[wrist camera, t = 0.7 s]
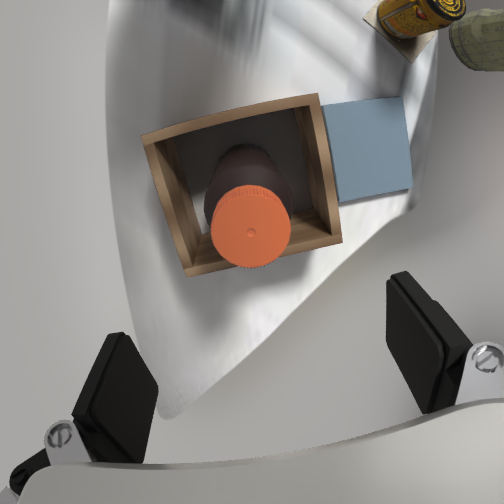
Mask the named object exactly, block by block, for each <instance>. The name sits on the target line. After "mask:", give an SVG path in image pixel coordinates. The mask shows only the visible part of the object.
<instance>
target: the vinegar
mask: <svg viewBox="0 0 504 504" xmlns="http://www.w3.org/2000/svg"><path fill="white" fill-rule="evenodd" d="M292 211H293V200H292V194H291V190H290V189H289V187H288V185H287V183H286V181H285V180H284V178H283V176H282V175H281V173H280V172H279V170H278V169H277V167H276V166H275V164H274V163H273V161H272V160H271V158H270V156H269V155H268V154H267V153H266V152H265V151H264V150H263V149H261V148H259V147H257V146H255V145H250V144H241V145H236V146H234V147H232V148H230V149H229V150H227V151H226V152H225V153H224V154H223V155H222V156H221V158H220V160H219V163H218V165H217V167H216V170H215V172H214V175H213V177H212V180H211V182H210V185H209V187H208V190H207V192H206V195H205V201H204V213H205V216H206V220H207V223H208V225H209V226H210V228H211V229H210V230H211V232H210V233H211V236H212V238H211V240H213V241H212V243H214V245H213V246H215V249H217V251H219V254H221V256H223V259H224V258H225V259H226V260H228V261H229V262H230V263H231V264H232V263H233V264H234V265H238V266H241V267H244V268H245V267H247V268H248V267H251V268H252V267H254V268H255V267H257V268H258V266H260V267H261V266H263V265H264V266H265V265H266V264H267V265H268V263H271V262H272V261H273V260H276V258H277V257H278V258H279V255H281V253H283V251H284V250H285V247H286V248H287V246H286V245H288V242H289V239H290V236H289V235H291V234H290V232H291V230H290V229H291V227H290V226H291V224H290V220H291V218H292Z"/></svg>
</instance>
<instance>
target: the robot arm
mask: <svg viewBox="0 0 504 504" xmlns="http://www.w3.org/2000/svg"><path fill="white" fill-rule="evenodd" d="M386 297H387V298H386V299H387V300H386V303H387V304H386V342H387V346H388V348H389V350H390V352H391V354H392V356H393V358H394V359H395V361H396V363H397V365H398V367H399V369H400V371H401V373H402V374H403V376H404V379H405V381H406V382H407V384H408V386H409V388H410V390H411V392H412V394H413V396H414V398H415V400H416V402H417V404H418V406H419V408H420V410H421V412H422V414H427V415H424V416H421V417H419V418H416V419H413V420H410V421H407V422H404V423H401V424H398V425H395V426H392V427H389V428H385V429H382V430H379V431H375V432H372V433H369V434H366V435H362V436H358V437H355V438H351V439H347V440H343V441H339V442H335V443H331V444H327V445H322V446H318V447H313V448H308V449H303V450H298V451H293V452H287V453H281V454H275V455H269V456H263V457H255V458H247V459H239V460H229V461H218V462H203V463H183V464H142V463H143V461H144V457H145V452H146V447H147V442H148V438H149V433H150V428H151V423H152V419H153V414H154V410H155V405H156V401H157V396H158V385H157V383H156V381H155V379H154V378H153V376H152V374H151V373H150V371H149V369H148V368H147V366H146V364H145V363H144V361H143V359H142V357H141V356H140V354H139V352H138V350H137V348H136V347H135V345H134V343H133V341H132V339H131V338H130V336H129V335H126V334H125V333H124V332H118V333H111V334H108V335H107V337H106V339H105V341H104V343H103V345H102V348H101V350H100V352H99V354H98V356H97V358H96V360H95V362H94V365H93V367H92V369H91V371H90V373H89V375H88V378H87V380H86V382H85V384H84V386H83V389H82V391H81V393H80V395H79V398H78V400H77V402H76V405H75V407H74V409H73V412H72V414H71V415H72V416H73V417H74V420H73V422H71V421H69V420H60V421H58V422H56V423H54V424H53V425H52V426H51V427H50V428H49V429H48V430H47V432H46V434H45V437H44V444H45V448H44V449H43V450H41V451H40V452H38V453H37V454H35V455H34V456H32V457H31V458H29V459H27V460H26V461H24V462H23V463H22V464H20V465H18V466H17V467H16V468H15V469H14V470H13V472H12V473H11V476H10V481H9V483H10V488H9V487H7V486H6V487H5V488H4V489H3V490H2V492H1V493H0V504H504V348H503V347H502V346H500V345H498V344H496V343H493V342H481V343H478V344H476V345H473V344H472V343H471V342H470V340H469V339H468V338H467V337H466V335H465V334H464V333H463V332H462V330H461V329H460V328H459V327H458V325H457V324H456V323H455V322H454V320H453V319H452V318H451V317H450V316H449V314H448V313H447V312H446V311H445V310H444V309H443V307H442V306H441V305H440V304H439V303H438V302H437V301H435V300H432V299H431V297H430V296H429V295H428V294H427V293H426V292H425V290H424V289H423V288H422V287H421V286H420V285H419V284H418V283H417V281H416V280H415V279H414V278H413V277H412V276H411V275H410V274H409V272H407V271H404V272H400V273H396V274H393V275H391V278H390V280H387V282H386Z"/></svg>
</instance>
